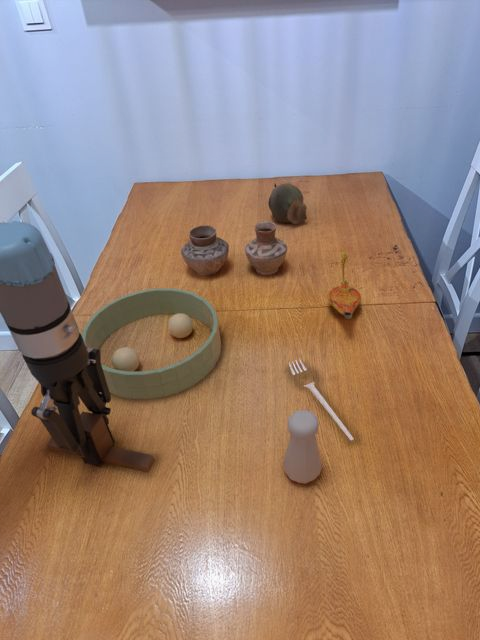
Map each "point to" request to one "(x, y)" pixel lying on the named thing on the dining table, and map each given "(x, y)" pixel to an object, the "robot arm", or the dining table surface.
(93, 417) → the brown inverted t block
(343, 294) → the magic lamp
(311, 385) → the fork
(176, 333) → the dough ball
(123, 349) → the dough ball
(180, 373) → the green ring
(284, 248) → the pair of painted pots
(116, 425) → the dining table surface
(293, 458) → the salt shaker
